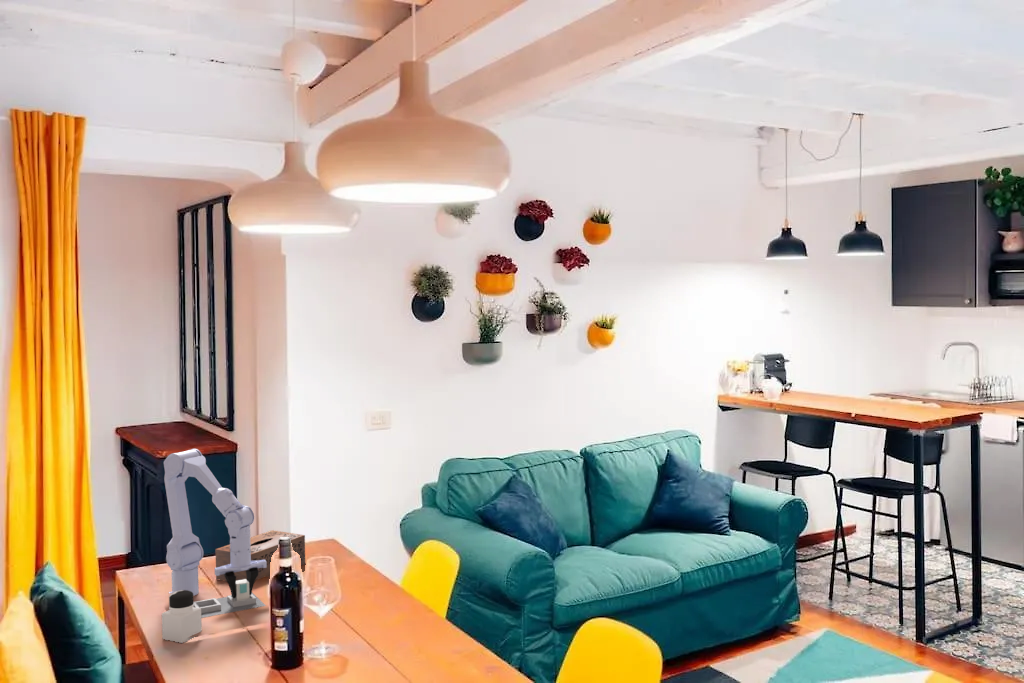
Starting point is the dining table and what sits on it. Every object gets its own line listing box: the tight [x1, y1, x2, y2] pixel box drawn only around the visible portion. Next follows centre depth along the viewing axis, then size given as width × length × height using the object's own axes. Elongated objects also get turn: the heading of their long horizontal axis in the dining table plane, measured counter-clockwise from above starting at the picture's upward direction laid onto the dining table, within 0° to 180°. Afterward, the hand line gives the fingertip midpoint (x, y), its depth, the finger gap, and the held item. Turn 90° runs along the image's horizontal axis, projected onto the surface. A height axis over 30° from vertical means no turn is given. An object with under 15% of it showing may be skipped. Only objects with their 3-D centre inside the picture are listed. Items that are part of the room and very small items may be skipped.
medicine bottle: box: [161, 590, 203, 644], centre depth 239 cm, size 7×7×12 cm
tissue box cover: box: [214, 529, 306, 582], centre depth 296 cm, size 26×14×10 cm, turn 152°
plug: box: [234, 579, 250, 601], centre depth 263 cm, size 4×4×6 cm
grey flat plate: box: [193, 592, 267, 619], centre depth 261 cm, size 14×20×2 cm
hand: (241, 595), depth 264 cm, fingers open, 4 cm apart
